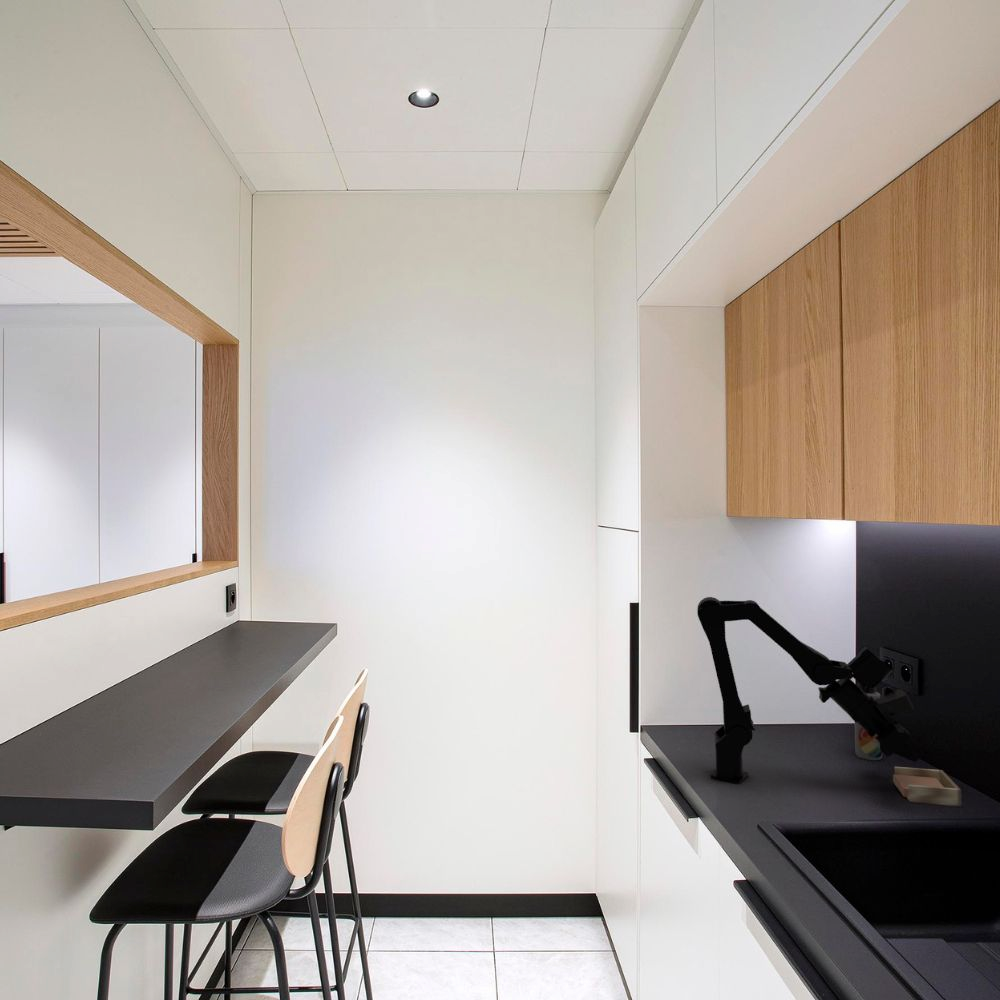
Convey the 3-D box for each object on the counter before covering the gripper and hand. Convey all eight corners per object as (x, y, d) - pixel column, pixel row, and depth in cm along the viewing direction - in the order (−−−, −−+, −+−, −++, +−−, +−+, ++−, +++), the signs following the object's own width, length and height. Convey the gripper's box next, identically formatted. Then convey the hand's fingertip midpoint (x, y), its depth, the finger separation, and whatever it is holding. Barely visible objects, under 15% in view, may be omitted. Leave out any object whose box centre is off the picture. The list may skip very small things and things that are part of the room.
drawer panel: (903, 788, 140) (948, 792, 138) (893, 774, 148) (935, 777, 146) (903, 796, 140) (948, 800, 138) (893, 782, 148) (936, 785, 146)
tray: (910, 802, 138) (909, 785, 138) (894, 781, 149) (894, 766, 149) (961, 806, 136) (961, 790, 136) (942, 785, 147) (941, 770, 147)
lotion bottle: (882, 762, 161) (879, 675, 161) (854, 758, 164) (852, 673, 164) (883, 755, 166) (880, 670, 166) (856, 751, 169) (854, 668, 169)
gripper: (897, 687, 136) (963, 748, 133) (874, 668, 154) (932, 721, 151) (854, 725, 138) (918, 786, 135) (836, 701, 156) (893, 755, 153)
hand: (916, 760), depth 143 cm, fingers closed
